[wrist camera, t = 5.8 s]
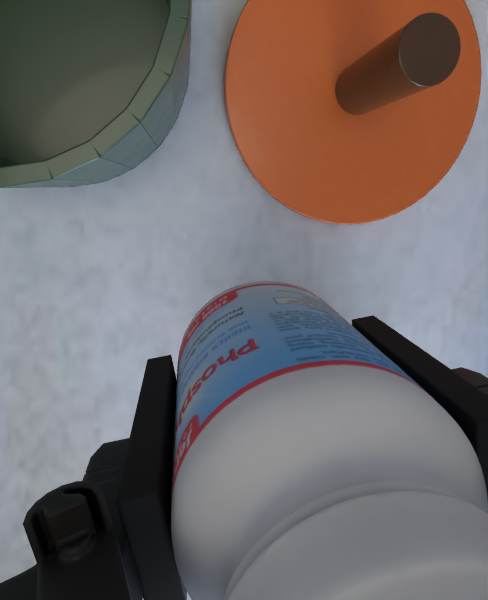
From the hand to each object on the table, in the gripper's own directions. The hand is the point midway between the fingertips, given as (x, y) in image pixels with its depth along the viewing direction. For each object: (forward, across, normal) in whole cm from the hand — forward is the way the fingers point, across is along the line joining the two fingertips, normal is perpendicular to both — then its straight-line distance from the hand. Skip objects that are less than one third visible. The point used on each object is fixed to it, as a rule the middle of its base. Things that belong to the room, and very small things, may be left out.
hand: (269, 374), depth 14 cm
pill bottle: (+2, 0, 0) cm, 2 cm away
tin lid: (+18, -11, -11) cm, 24 cm away
